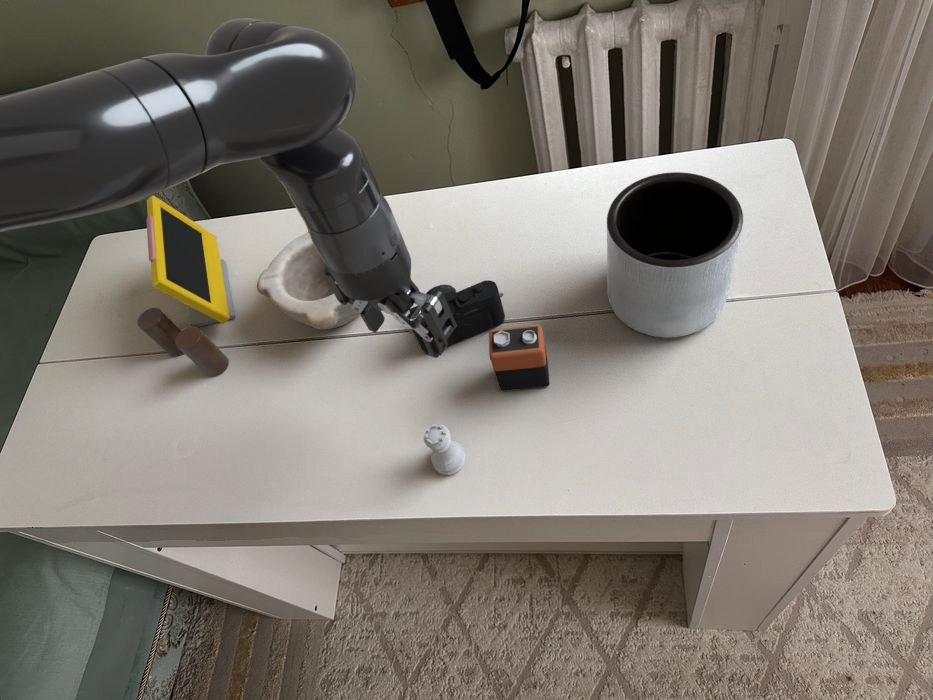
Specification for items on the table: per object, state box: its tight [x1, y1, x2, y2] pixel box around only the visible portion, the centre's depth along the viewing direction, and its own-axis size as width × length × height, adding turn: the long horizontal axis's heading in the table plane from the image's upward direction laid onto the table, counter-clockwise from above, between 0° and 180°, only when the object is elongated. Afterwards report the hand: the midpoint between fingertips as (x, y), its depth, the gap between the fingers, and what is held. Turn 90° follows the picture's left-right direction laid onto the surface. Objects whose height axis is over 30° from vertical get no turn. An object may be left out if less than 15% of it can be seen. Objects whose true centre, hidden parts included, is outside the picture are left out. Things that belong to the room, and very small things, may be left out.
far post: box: [136, 307, 185, 358], centre depth 99 cm, size 4×4×8 cm
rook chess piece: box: [423, 423, 467, 475], centre depth 78 cm, size 4×4×8 cm
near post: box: [175, 325, 230, 378], centre depth 95 cm, size 4×4×8 cm
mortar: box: [256, 231, 361, 330], centre depth 96 cm, size 17×17×9 cm
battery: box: [488, 324, 551, 392], centre depth 82 cm, size 4×7×10 cm, turn 90°
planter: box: [606, 171, 744, 338], centre depth 82 cm, size 16×16×16 cm
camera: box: [406, 279, 506, 355], centre depth 90 cm, size 14×7×8 cm, turn 110°
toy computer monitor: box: [145, 195, 236, 328], centre depth 100 cm, size 20×8×16 cm, turn 20°
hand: (407, 338), depth 71 cm, fingers open, 8 cm apart
